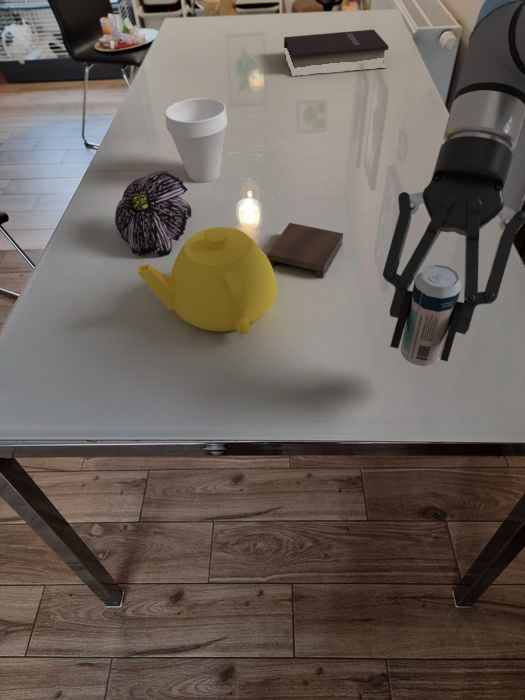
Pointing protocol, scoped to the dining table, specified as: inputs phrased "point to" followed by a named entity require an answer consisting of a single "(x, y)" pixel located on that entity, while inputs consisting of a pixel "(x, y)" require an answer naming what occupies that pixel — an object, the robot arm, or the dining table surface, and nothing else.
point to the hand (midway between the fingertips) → (418, 353)
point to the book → (335, 47)
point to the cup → (198, 135)
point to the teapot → (217, 281)
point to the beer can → (430, 314)
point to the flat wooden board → (306, 248)
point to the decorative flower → (152, 213)
